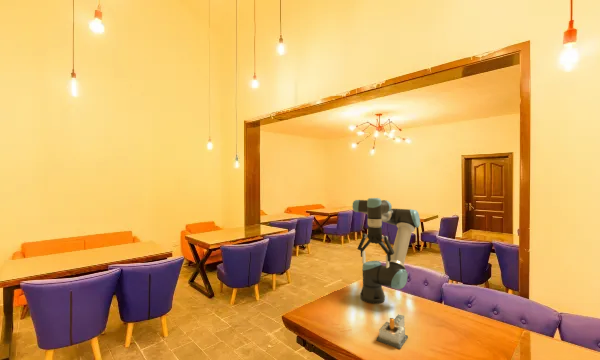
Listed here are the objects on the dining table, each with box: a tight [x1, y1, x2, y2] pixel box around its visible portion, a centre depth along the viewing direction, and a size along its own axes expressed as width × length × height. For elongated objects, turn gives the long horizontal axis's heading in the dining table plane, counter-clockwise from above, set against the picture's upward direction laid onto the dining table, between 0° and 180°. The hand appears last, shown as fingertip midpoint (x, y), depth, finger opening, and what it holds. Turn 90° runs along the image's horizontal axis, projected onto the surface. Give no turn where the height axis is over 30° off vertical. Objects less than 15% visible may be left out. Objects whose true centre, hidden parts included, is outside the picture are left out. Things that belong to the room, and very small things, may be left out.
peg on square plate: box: [375, 317, 409, 350], centre depth 128 cm, size 11×11×10 cm
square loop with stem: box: [378, 314, 406, 345], centre depth 131 cm, size 18×9×5 cm, turn 142°
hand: (375, 265), depth 148 cm, fingers open, 13 cm apart
